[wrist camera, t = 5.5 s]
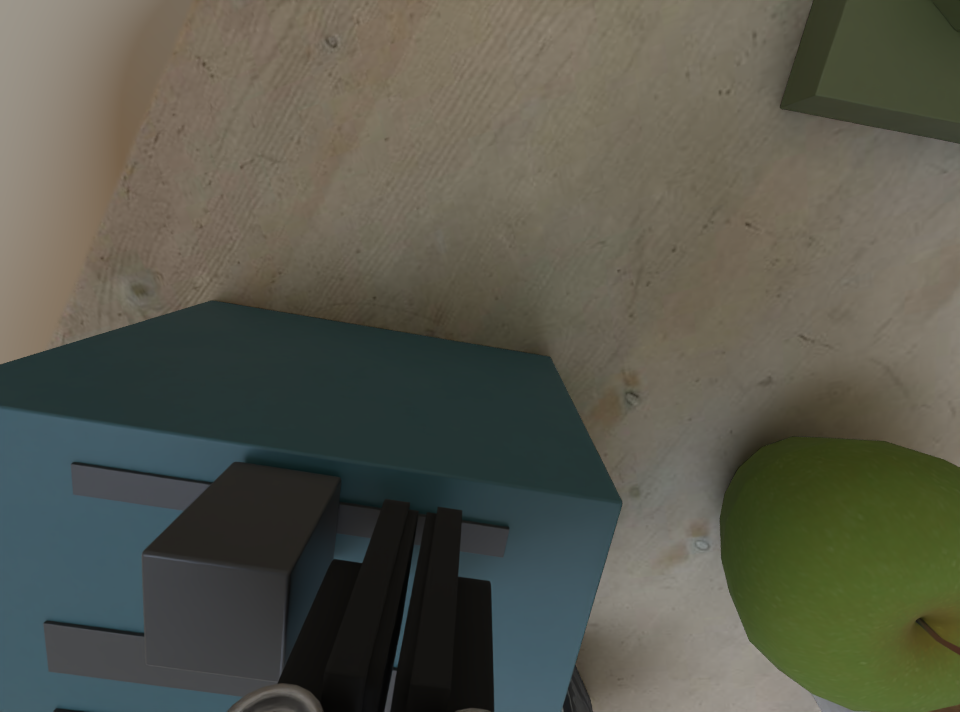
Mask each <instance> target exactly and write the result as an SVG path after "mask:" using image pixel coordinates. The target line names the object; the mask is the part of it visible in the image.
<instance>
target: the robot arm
mask: <svg viewBox="0 0 960 712" xmlns="http://www.w3.org/2000/svg"><path fill="white" fill-rule="evenodd" d="M418 514H419V511H416V510H410V502H404V501H397V500H390V499H385V500H384V502H383V505H382V508H381V511H380V514H379V517H378V519H377V522H376V525H375V528H374V531H373V534H372V537H371V539H370V542H369V545H368V548H367V551H366V554H365V557H364V560H363V562H362V563H359V562H352V561H345V560H338V559H333V560H332V562H331V564H330V565H329V567H328V570H327V572H326V574H325V576H324V579H323V581H322V583H321V586H320V588H319V590H318V592H317V595H316V597H315V599H314V601H313V604H312V606H311V608H310V610H309V613H308V615H307V617H306V620H305V622H304V624H303V626H302V629H301V631H300V633H299V635H298V638H297V640H296V642H295V644H294V647H293V649H292V651H291V654H290V656H289V658H288V660H287V663H286V665H285V667H284V669H283V672H282V674H281V676H280V678H279V681H278V683H277V684H274V685H268V686H264V687H262V688H259V689H257V690H255V691H252V692H250V693H248V694H247V695H245V696H244V697H242V698H241V699H240V700H238V701H237V702H236V703H234V704H233V705H232V706H231V707H230V708H229V709H228V711H227V712H384V711H385V706H386V701H387V696H388V691H389V686H390V681H391V676H392V671H393V666H394V661H395V656H396V651H397V646H398V641H399V636H400V631H401V625H402V620H403V614H404V607H405V601H406V594H407V587H408V581H409V574H410V567H411V561H412V554H413V547H414V541H415V534H416V527H417V521H418ZM461 527H462V510H458V509H451V508H444V507H438V508H437V513H430V512H427V513H426V518H425V524H424V529H423V534H422V540H421V545H420V550H419V555H418V561H417V566H416V571H415V577H414V582H413V587H412V593H411V598H410V603H409V608H408V614H407V619H406V624H405V630H404V635H403V640H402V645H401V651H400V656H399V661H398V667H397V673H396V678H395V684H394V690H393V696H392V703H391V710H390V712H494V673H493V633H492V594H491V582H490V581H487V580H480V579H473V578H466V577H459V576H458V572H459V557H460V542H461Z"/></svg>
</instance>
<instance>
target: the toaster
mask: <svg viewBox="0 0 960 712" xmlns="http://www.w3.org/2000/svg"><path fill="white" fill-rule="evenodd" d="M233 462H244V463H250V464H257V465H263V466H270V467H276V468H283V469H290V470H296V471H303V472H309V473H316V474H323V475H329V476H336V477H340V478H341V490H340V500H339V509H338V519H337V529H336V539H335V549H334V559H338V560H345V561H352V562H359V563H362V562H363V560H364V557H365V554H366V551H367V548H368V545H369V542H370V539H371V537H372V534H373V531H374V528H375V525H376V522H377V519H378V517H379V514H380V511H381V508H382V505H383V502H384V500H385V499H390V500H397V501H404V502H410V510H416V511H419V514H418V521H417V527H416V534H415V541H414V547H413V554H412V561H411V567H410V574H409V581H408V587H407V594H406V601H405V607H404V614H403V620H402V625H401V631H400V636H399V641H398V646H397V651H396V656H395V661H394V666H393V671H392V676H391V681H390V686H389V691H388V696H387V701H386V706H385V711H384V712H390V710H391V703H392V696H393V690H394V684H395V678H396V673H397V667H398V661H399V656H400V651H401V645H402V640H403V635H404V630H405V624H406V619H407V614H408V608H409V603H410V598H411V593H412V587H413V582H414V577H415V571H416V566H417V561H418V555H419V550H420V545H421V540H422V534H423V529H424V524H425V518H426V513H427V512H430V513H437V508H438V507H444V508H451V509H458V510H462V527H461V542H460V557H459V572H458V576H459V577H466V578H473V579H480V580H487V581H490V582H491V594H492V633H493V673H494V712H561V711H562V708H563V704H564V701H565V697H566V694H567V691H568V687H569V684H570V680H571V677H572V674H573V670H574V667H575V663H576V660H577V657H578V653H579V650H580V646H581V643H582V640H583V636H584V633H585V629H586V626H587V623H588V619H589V616H590V612H591V609H592V606H593V602H594V599H595V595H596V592H597V589H598V585H599V582H600V578H601V575H602V572H603V568H604V565H605V561H606V558H607V555H608V551H609V548H610V544H611V541H612V538H613V534H614V531H615V527H616V524H617V521H618V517H619V514H620V511H621V507H622V500H621V498H620V496H619V494H618V492H617V490H616V488H615V486H614V484H613V482H612V480H611V478H610V476H609V474H608V472H607V470H606V468H605V466H604V464H603V462H602V460H601V458H600V456H599V454H598V452H597V450H596V448H595V446H594V444H593V442H592V440H591V438H590V436H589V434H588V432H587V430H586V428H585V426H584V424H583V422H582V420H581V418H580V415H579V413H578V411H577V409H576V407H575V405H574V403H573V401H572V399H571V397H570V395H569V393H568V391H567V389H566V387H565V385H564V383H563V381H562V379H561V377H560V375H559V373H558V371H557V369H556V367H555V365H554V363H553V361H552V359H551V357H548V356H542V355H536V354H530V353H524V352H518V351H512V350H506V349H500V348H494V347H488V346H482V345H476V344H470V343H464V342H458V341H452V340H446V339H440V338H434V337H428V336H422V335H416V334H410V333H404V332H398V331H392V330H386V329H380V328H374V327H368V326H362V325H356V324H350V323H344V322H338V321H332V320H326V319H320V318H314V317H308V316H302V315H296V314H290V313H284V312H278V311H272V310H266V309H260V308H254V307H248V306H242V305H236V304H230V303H224V302H218V301H208V302H205V303H201V304H198V305H195V306H192V307H188V308H185V309H182V310H178V311H175V312H172V313H168V314H165V315H162V316H159V317H155V318H152V319H149V320H145V321H142V322H139V323H136V324H132V325H129V326H126V327H122V328H119V329H116V330H112V331H109V332H106V333H103V334H99V335H96V336H93V337H89V338H86V339H83V340H80V341H76V342H73V343H70V344H66V345H63V346H60V347H56V348H53V349H50V350H47V351H43V352H40V353H37V354H34V355H30V356H27V357H24V358H20V359H17V360H14V361H10V362H7V363H4V364H0V712H227V711H228V709H229V708H230V707H231V706H232V705H233V704H234V703H236V702H237V701H238V700H240V699H241V698H242V697H244V696H245V695H247V694H248V693H250V692H252V691H255V690H257V689H259V688H262V687H264V686H268V685H274V684H277V683H278V682H270V681H262V680H255V679H247V678H240V677H232V676H224V675H217V674H209V673H202V672H194V671H186V670H179V669H171V668H164V667H156V666H148V665H147V664H146V663H145V640H144V613H143V585H142V557H141V555H142V552H143V550H144V549H145V548H146V547H147V546H148V545H149V544H151V543H152V542H153V541H154V540H155V539H156V538H157V537H158V536H159V535H160V534H161V533H162V532H163V531H164V530H165V529H166V528H167V527H168V526H169V525H170V524H171V523H172V522H173V521H174V520H175V519H176V518H177V517H178V516H179V515H180V514H181V513H182V512H183V511H184V510H185V509H186V508H187V507H188V506H189V505H190V504H191V503H192V502H193V501H194V500H195V499H196V498H197V497H198V496H199V495H200V494H201V493H202V492H203V491H204V490H206V489H207V488H208V487H209V486H210V485H211V484H212V483H213V482H214V481H215V480H216V479H217V478H218V477H219V476H220V475H221V474H222V473H223V472H224V471H225V470H226V469H227V468H228V467H229V466H230V465H231V464H232V463H233Z"/></svg>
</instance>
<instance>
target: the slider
mask: <svg viewBox="0 0 960 712" xmlns="http://www.w3.org/2000/svg"><path fill="white" fill-rule="evenodd" d="M340 490H341V478H340V477H336V476H329V475H323V474H316V473H309V472H303V471H296V470H290V469H283V468H276V467H270V466H263V465H257V464H250V463H244V462H233V463H232V464H231V465H230V466H229V467H228V468H227V469H226V470H225V471H224V472H223V473H222V474H221V475H220V476H219V477H218V478H217V479H216V480H215V481H214V482H213V483H212V484H211V485H210V486H209V487H208V488H207V489H206V490H204V491H203V492H202V493H201V494H200V495H199V496H198V497H197V498H196V499H195V500H194V501H193V502H192V503H191V504H190V505H189V506H188V507H187V508H186V509H185V510H184V511H183V512H182V513H181V514H180V515H179V516H178V517H177V518H176V519H175V520H174V521H173V522H172V523H171V524H170V525H169V526H168V527H167V528H166V529H165V530H164V531H163V532H162V533H161V534H160V535H159V536H158V537H157V538H156V539H155V540H154V541H153V542H152V543H151V544H149V545H148V546H147V547H146V548H145V549H144V550H143V552H142V555H141V557H142V585H143V613H144V640H145V663H146V664H147V665H148V666H156V667H164V668H171V669H179V670H186V671H194V672H202V673H209V674H217V675H224V676H232V677H240V678H247V679H255V680H262V681H270V682H278V681H279V678H280V676H281V674H282V672H283V669H284V667H285V665H286V663H287V660H288V658H289V656H290V654H291V651H292V649H293V647H294V644H295V642H296V640H297V638H298V635H299V633H300V631H301V629H302V626H303V624H304V622H305V620H306V617H307V615H308V613H309V610H310V608H311V606H312V604H313V601H314V599H315V597H316V595H317V592H318V590H319V588H320V586H321V583H322V581H323V579H324V576H325V574H326V572H327V570H328V567H329V565H330V564H331V562H332V560H333V559H334V549H335V539H336V529H337V519H338V509H339V500H340Z"/></svg>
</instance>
